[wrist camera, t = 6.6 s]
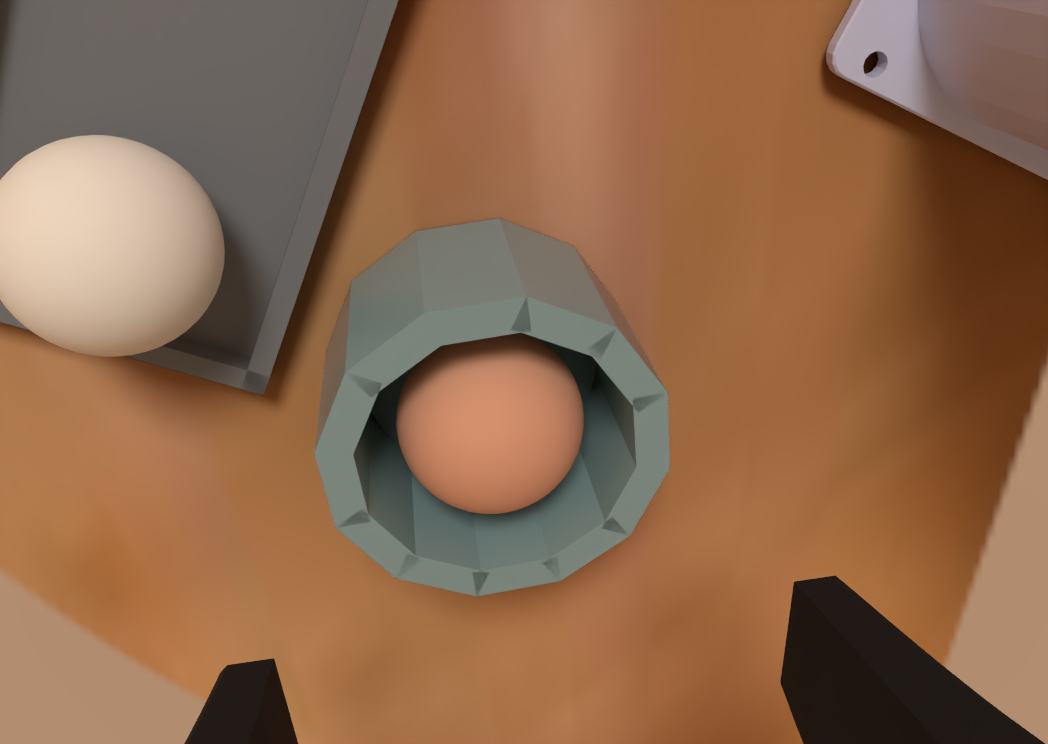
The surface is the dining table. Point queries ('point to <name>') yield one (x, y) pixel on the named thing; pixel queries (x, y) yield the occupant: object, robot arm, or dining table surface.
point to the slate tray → (207, 131)
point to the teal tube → (465, 315)
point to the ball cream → (106, 246)
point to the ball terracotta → (490, 422)
